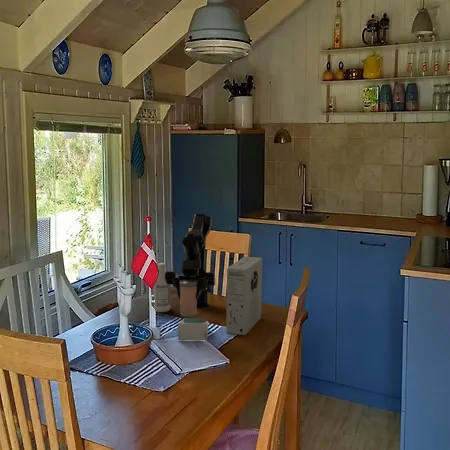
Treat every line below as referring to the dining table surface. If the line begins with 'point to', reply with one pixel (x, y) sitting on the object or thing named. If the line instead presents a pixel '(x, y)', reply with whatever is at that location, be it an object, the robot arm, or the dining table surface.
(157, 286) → the bath foam
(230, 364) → the dining table surface
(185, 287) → the grey brown rounded piece
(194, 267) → the robot arm
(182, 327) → the pusher lane
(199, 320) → the pusher paddle
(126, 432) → the dining table surface
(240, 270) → the cereal box
